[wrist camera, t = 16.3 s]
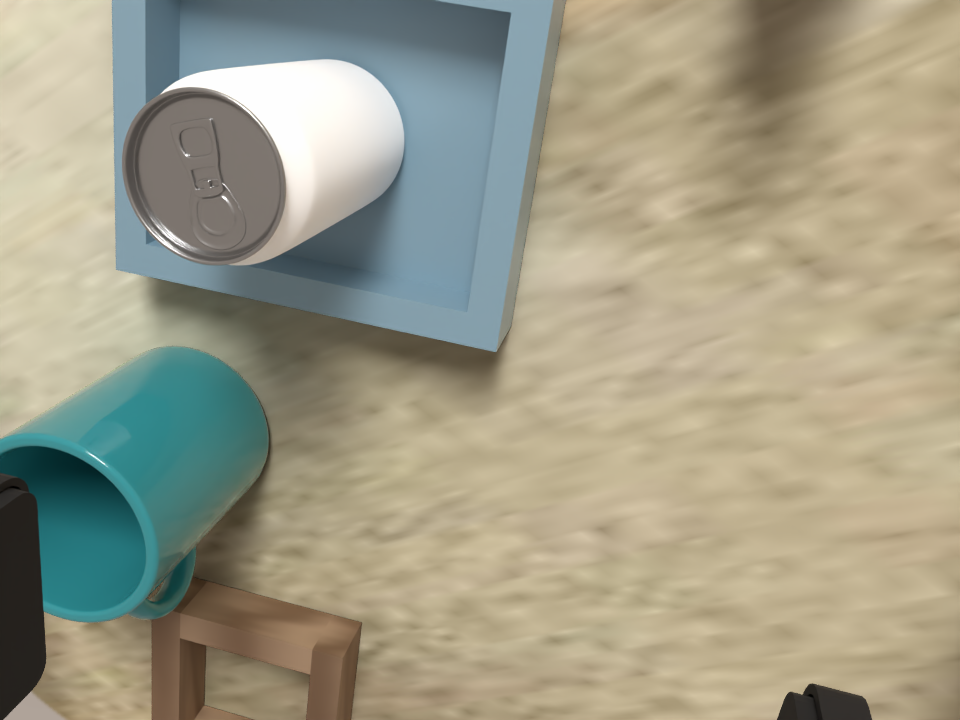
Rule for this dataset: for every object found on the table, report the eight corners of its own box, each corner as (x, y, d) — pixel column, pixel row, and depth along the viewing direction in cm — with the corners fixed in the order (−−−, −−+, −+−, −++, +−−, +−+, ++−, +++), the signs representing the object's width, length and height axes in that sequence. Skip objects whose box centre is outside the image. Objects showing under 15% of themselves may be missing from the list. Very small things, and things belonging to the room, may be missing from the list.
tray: (569, -21, 35) (557, -25, 32) (510, 326, 41) (496, 352, 38) (158, -84, 38) (110, -93, 35) (157, 251, 44) (116, 269, 41)
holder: (361, 622, 49) (342, 658, 47) (345, 768, 53) (326, 808, 51) (180, 573, 51) (151, 605, 48) (178, 718, 55) (151, 755, 52)
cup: (154, 543, 51) (18, 676, 40) (98, 345, 47) (-67, 436, 36) (299, 545, 48) (195, 685, 38) (254, 337, 44) (124, 432, 34)
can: (287, 217, 41) (142, 288, 30) (252, 72, 39) (83, 90, 28) (420, 198, 39) (318, 267, 28) (391, 45, 37) (269, 54, 26)
